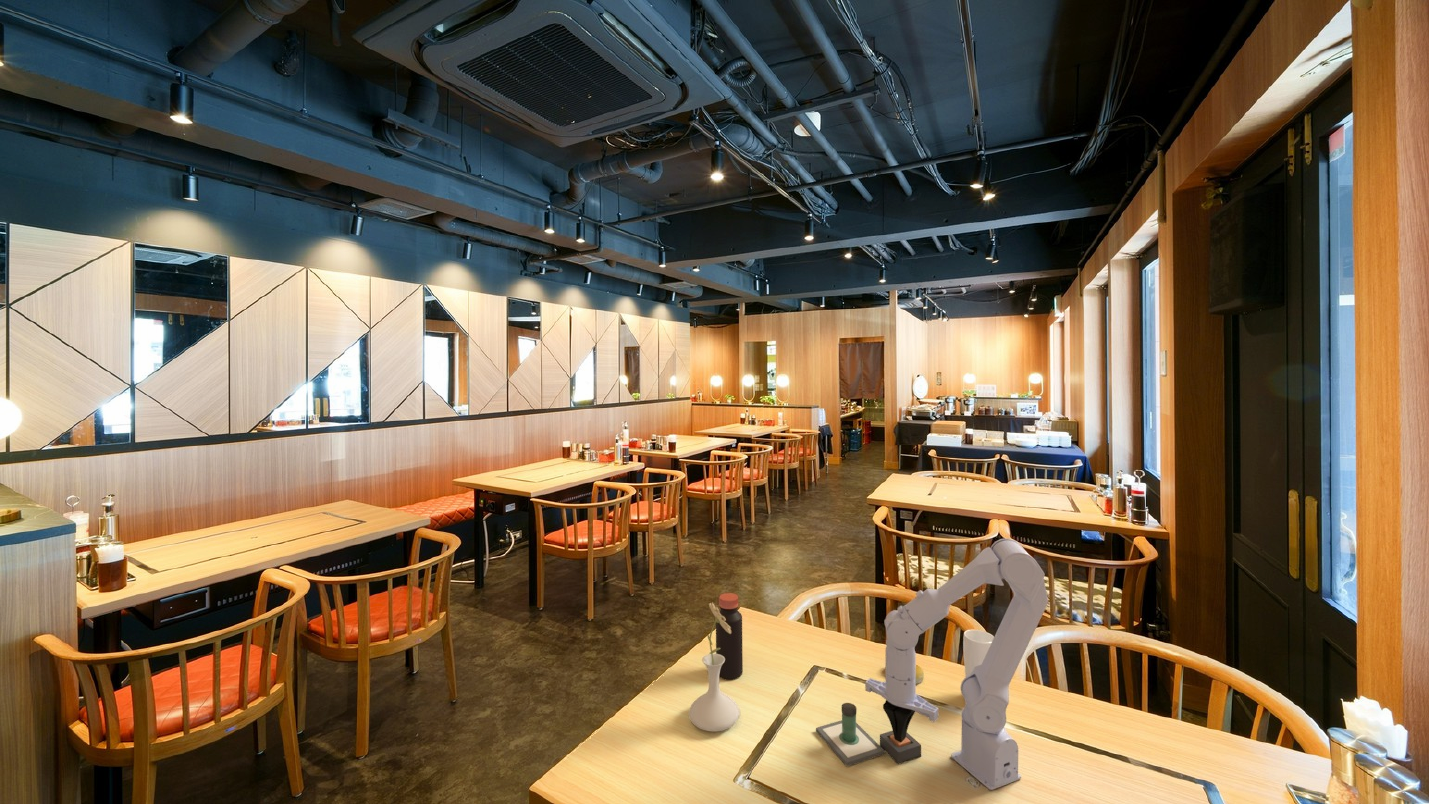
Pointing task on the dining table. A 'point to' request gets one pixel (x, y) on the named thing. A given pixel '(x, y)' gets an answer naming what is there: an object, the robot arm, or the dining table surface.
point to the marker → (848, 722)
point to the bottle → (730, 637)
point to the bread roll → (919, 674)
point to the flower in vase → (714, 692)
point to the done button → (900, 744)
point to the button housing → (903, 752)
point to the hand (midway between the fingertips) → (900, 738)
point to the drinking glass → (975, 648)
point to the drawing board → (849, 744)
